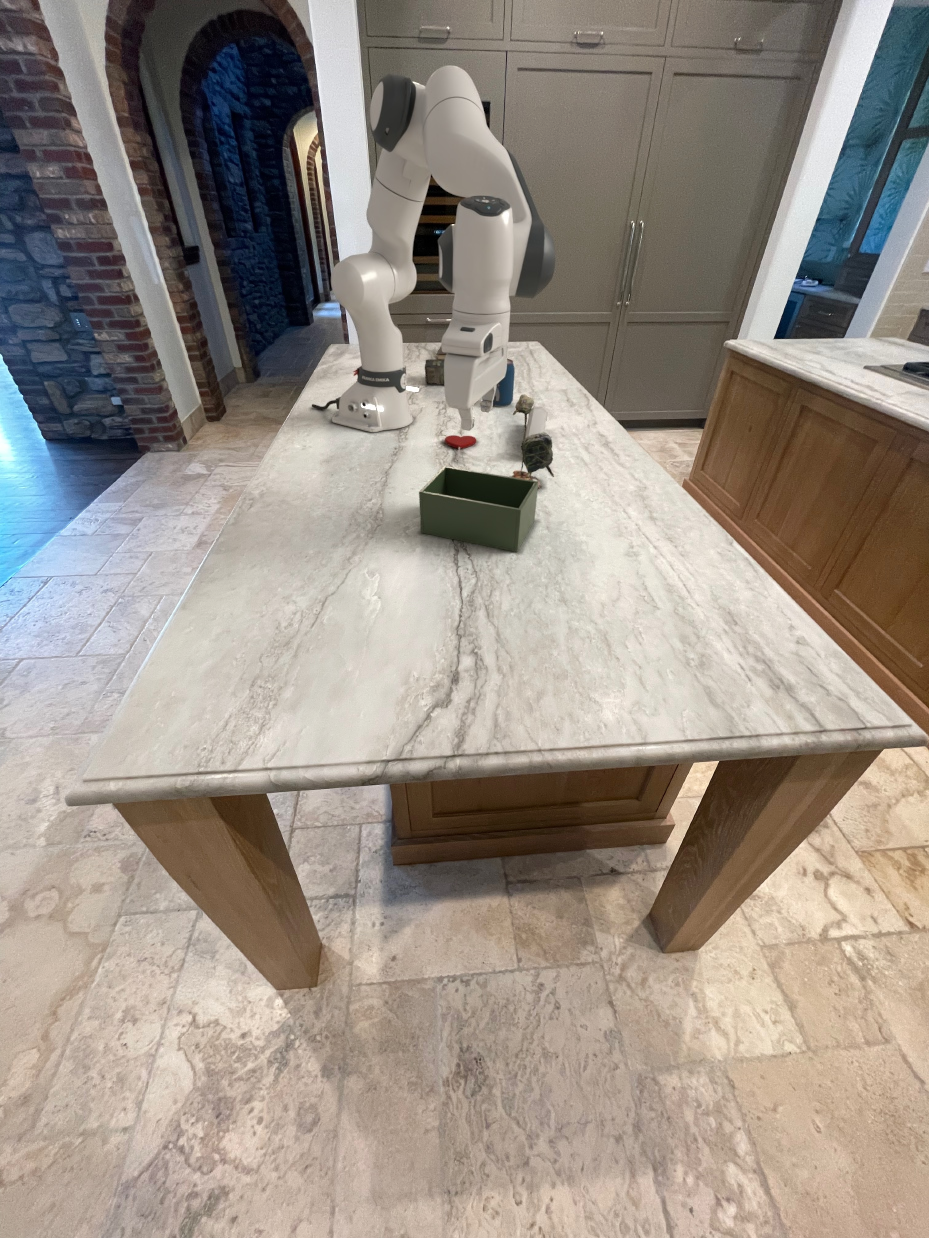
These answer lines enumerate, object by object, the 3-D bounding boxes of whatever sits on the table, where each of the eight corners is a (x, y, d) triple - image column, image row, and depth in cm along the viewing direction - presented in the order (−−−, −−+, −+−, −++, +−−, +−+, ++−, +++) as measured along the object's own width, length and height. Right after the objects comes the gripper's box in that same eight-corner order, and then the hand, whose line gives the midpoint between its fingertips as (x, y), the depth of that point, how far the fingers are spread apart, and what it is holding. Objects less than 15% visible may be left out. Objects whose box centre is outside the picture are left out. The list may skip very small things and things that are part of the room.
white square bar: (546, 447, 125) (550, 410, 144) (525, 438, 125) (532, 403, 144) (536, 466, 129) (542, 428, 148) (516, 458, 128) (524, 421, 147)
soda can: (512, 400, 164) (515, 358, 156) (512, 408, 158) (514, 364, 151) (490, 399, 164) (491, 357, 156) (488, 407, 159) (490, 363, 151)
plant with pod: (551, 496, 115) (563, 400, 102) (498, 491, 116) (504, 396, 103) (553, 480, 121) (565, 387, 108) (504, 475, 122) (509, 383, 110)
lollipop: (474, 462, 127) (476, 439, 139) (474, 459, 127) (476, 435, 138) (440, 461, 128) (445, 438, 139) (440, 458, 127) (445, 434, 139)
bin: (420, 532, 102) (418, 491, 97) (444, 504, 111) (444, 465, 106) (517, 552, 97) (520, 510, 92) (534, 521, 106) (538, 481, 101)
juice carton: (485, 377, 182) (485, 357, 178) (486, 386, 175) (487, 366, 171) (426, 377, 182) (425, 358, 178) (425, 386, 175) (424, 366, 171)
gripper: (483, 315, 91) (480, 399, 100) (436, 342, 77) (437, 437, 85) (519, 319, 90) (512, 403, 98) (477, 347, 75) (474, 443, 84)
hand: (477, 419), depth 92 cm, fingers open, 8 cm apart
